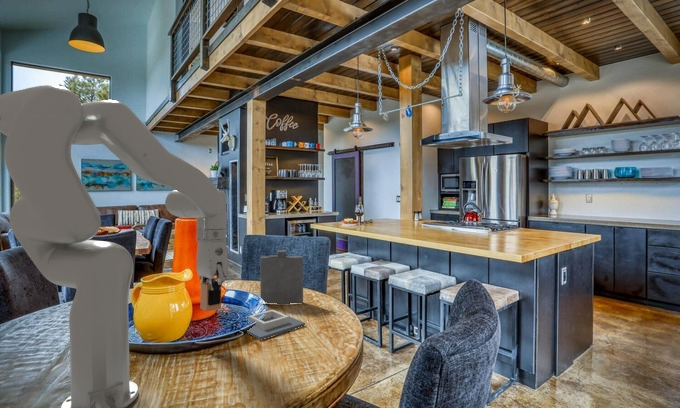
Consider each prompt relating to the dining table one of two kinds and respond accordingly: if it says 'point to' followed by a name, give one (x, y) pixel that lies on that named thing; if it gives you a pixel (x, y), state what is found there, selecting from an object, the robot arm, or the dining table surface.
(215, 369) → the dining table surface
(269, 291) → the hip flask
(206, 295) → the connector plug
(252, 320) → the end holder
